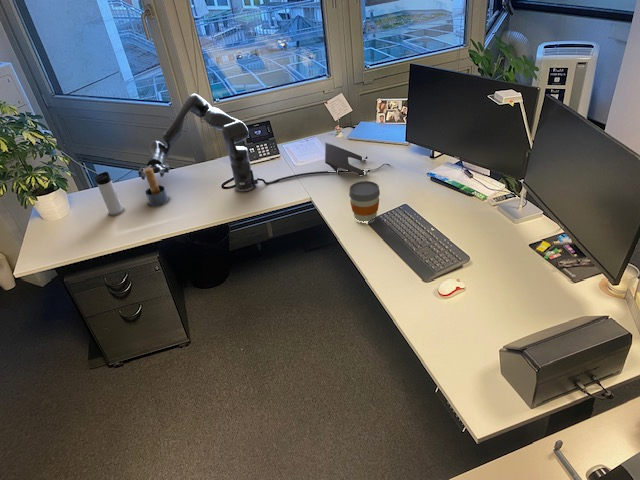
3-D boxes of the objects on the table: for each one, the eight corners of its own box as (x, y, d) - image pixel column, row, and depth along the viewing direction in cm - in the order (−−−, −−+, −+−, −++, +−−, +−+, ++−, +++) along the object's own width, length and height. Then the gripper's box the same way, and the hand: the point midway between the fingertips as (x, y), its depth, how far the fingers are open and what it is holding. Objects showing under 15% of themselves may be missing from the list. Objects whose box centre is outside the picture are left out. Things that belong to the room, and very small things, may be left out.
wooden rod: (162, 197, 228) (152, 166, 219) (163, 201, 225) (152, 170, 215) (154, 199, 228) (143, 168, 218) (154, 203, 224) (143, 172, 215)
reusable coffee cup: (360, 230, 191) (359, 199, 182) (345, 216, 200) (343, 186, 192) (386, 220, 195) (385, 189, 186) (369, 207, 205) (368, 177, 196)
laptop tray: (362, 189, 230) (370, 174, 225) (319, 174, 225) (326, 158, 220) (360, 168, 249) (367, 153, 244) (320, 154, 244) (326, 138, 239)
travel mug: (126, 209, 224) (112, 172, 212) (117, 216, 219) (102, 178, 207) (116, 207, 226) (101, 171, 214) (107, 215, 221) (91, 177, 209)
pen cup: (167, 195, 231) (164, 183, 228) (169, 203, 224) (165, 192, 220) (149, 199, 229) (145, 188, 226) (149, 208, 222) (145, 196, 218)
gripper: (172, 166, 238) (169, 181, 224) (144, 171, 236) (139, 186, 223) (168, 153, 233) (164, 167, 220) (139, 157, 232) (134, 172, 219)
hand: (152, 176), depth 222 cm, fingers open, 8 cm apart
